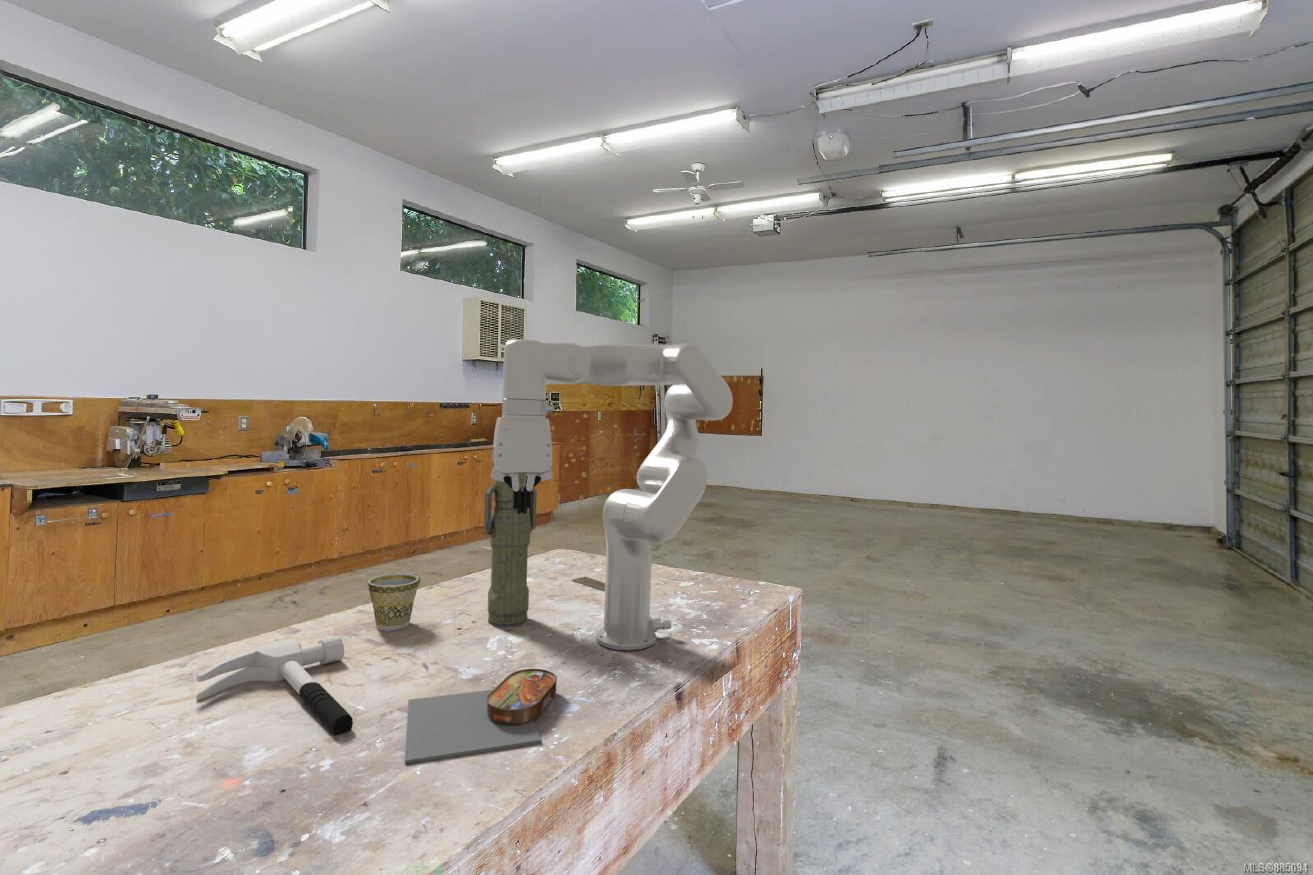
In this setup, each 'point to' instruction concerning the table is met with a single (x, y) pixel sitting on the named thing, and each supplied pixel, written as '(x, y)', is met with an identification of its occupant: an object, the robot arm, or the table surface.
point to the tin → (521, 696)
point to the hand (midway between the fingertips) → (521, 512)
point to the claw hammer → (285, 675)
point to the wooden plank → (590, 583)
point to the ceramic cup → (393, 599)
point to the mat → (459, 728)
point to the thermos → (508, 554)
